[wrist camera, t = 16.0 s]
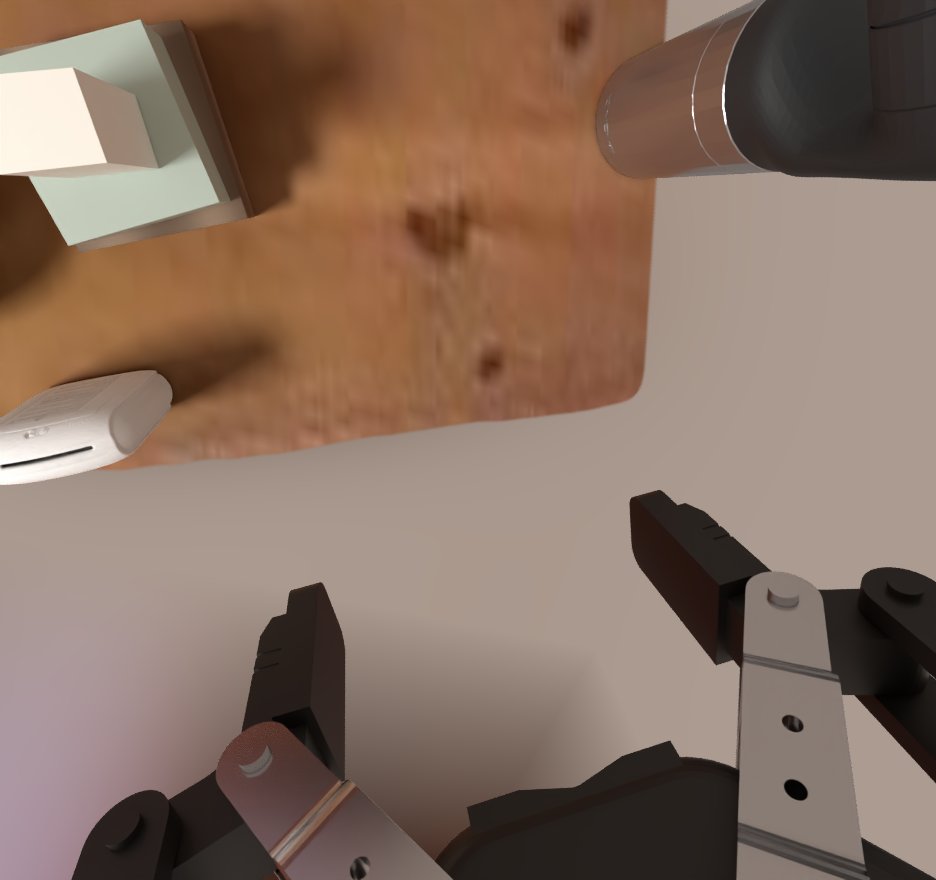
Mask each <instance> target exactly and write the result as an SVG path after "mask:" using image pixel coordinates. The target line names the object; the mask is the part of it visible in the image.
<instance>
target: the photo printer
mask: <svg viewBox="0 0 936 880" xmlns="http://www.w3.org/2000/svg"><path fill="white" fill-rule="evenodd" d="M172 395H173V394H172V389H171V386H170V384H169V383H168V381H167V380H166V379H165V378H164V377H163V376H162V375H160V374H157V371H155V370H143V371H134V372H128V373H122V374H116V375H110V376H104V377H99V378H94V379H88V380H83V381H78V382H73V383H68V384H64V385H60V386H56V387H53V388H50V389H47V390H44V391H42V392H40V393H38V394H36V395H35V396H33V397H32V398H30V399H29V400H27V401H26V402H24V403H23V404H21V405H20V406H18V407H17V408H15V409H14V410H12V411H10V412H9V413H7V414H6V415H4V416H3V417H1V418H0V484H1V485H8V484H21V483H29V482H36V481H43V480H48V479H53V478H58V477H63V476H68V475H72V474H77V473H81V472H85V471H88V470H92V469H96V468H99V467H103V466H106V465H109V464H112V463H115V462H117V461H120V460H122V459H124V458H126V457H128V456H130V455H132V454H133V453H134V452H135V451H136V450H137V449H138V448H139V446H140V445H141V444H142V443H143V442H144V441H145V439H146V438H147V437H148V436H149V435H150V433H151V432H152V431H153V430H154V429H155V428H156V426H157V425H158V424H159V423H160V422H161V420H162V419H163V418H164V417H165V415H166V414H167V413H168V412H169V411H170V409H171V405H170V402H171V400H172Z"/></svg>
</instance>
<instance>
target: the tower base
mask: <svg viewBox="0 0 936 880" xmlns="http://www.w3.org/2000/svg"><path fill="white" fill-rule="evenodd" d="M147 26H148V27H150V28H151V29H152V30H153V31H154V32H156V33H157V34H158V35H159V36H160V37H161V38H162V40H163V43H164V45H165V47H166V50H167V52H168V54H169V57H170V59H171V61H172V64H173V66H174V69H175V71H176V73H177V76H178V78H179V80H180V83H181V85H182V87H183V90H184V92H185V94H186V97H187V99H188V101H189V104H190V106H191V109H192V111H193V113H194V116H195V118H196V120H197V123H198V125H199V127H200V130H201V132H202V134H203V137H204V139H205V141H206V144H207V146H208V149H209V151H210V153H211V156H212V158H213V160H214V163H215V165H216V167H217V170H218V172H219V174H220V177H221V179H222V182H223V184H224V186H225V189H226V191H227V193H228V196H229V198H230V200H231V202H227V203H224V204H220V205H217V206H213V207H210V208H206V209H203V210H199V211H196V212H193V213H189V214H186V215H182V216H179V217H175V218H172V219H168V220H165V221H161V222H158V223H155V224H151V225H148V226H144V227H141V228H137V229H134V230H130V231H127V232H123V233H120V234H116V235H113V236H110V237H106V238H103V239H99V240H96V241H91V242H86V243H81V244H75V245H76V247H77V249H78V251H79V253H80V252H85V251H90V250H95V249H100V248H105V247H110V246H115V245H120V244H125V243H130V242H134V241H139V240H144V239H149V238H154V237H159V236H164V235H169V234H174V233H179V232H183V231H188V230H193V229H198V228H203V227H208V226H213V225H218V224H223V223H228V222H233V221H237V220H242V219H247V218H251V217H255V216H254V213H253V210H252V207H251V204H250V201H249V198H248V195H247V192H246V188H245V185H244V182H243V179H242V176H241V173H240V170H239V167H238V164H237V161H236V158H235V155H234V152H233V149H232V146H231V143H230V140H229V137H228V134H227V131H226V128H225V125H224V122H223V119H222V116H221V113H220V110H219V107H218V104H217V101H216V98H215V95H214V92H213V89H212V86H211V83H210V80H209V77H208V74H207V71H206V68H205V65H204V62H203V59H202V56H201V53H200V50H199V47H198V44H197V41H196V38H195V35H194V34H193V32H192V31H191V30H190V29H189V28H188V27H187V26H186V25H185V24H184V23H183V22H182V21H181V20H176V21H170V22H164V23H158V24H152V25H147ZM66 39H67V38H66ZM60 40H63V39H60ZM56 41H59V40H54V41H47V42H41V43H35V44H29V45H23V46H17V47H11V48H5V49H0V56H2V55H6V54H10V53H14V52H17V51H21V50H25V49H29V48H33V47H36V46H40V45H44V44H48V43H52V42H56Z"/></svg>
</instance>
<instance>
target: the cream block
mask: <svg viewBox="0 0 936 880" xmlns="http://www.w3.org/2000/svg"><path fill="white" fill-rule="evenodd" d="M153 169H159V167H158V164H157V161H156V158H155V155H154V152H153V149H152V146H151V143H150V140H149V136H148V133H147V130H146V127H145V124H144V121H143V118H142V115H141V112H140V109H139V106H138V102H137V99H136V96H135V95H134V94H132V93H130V92H127V91H125V90H123V89H121V88H118V87H116V86H114V85H112V84H109V83H107V82H105V81H102V80H100V79H98V78H96V77H93V76H91V75H89V74H87V73H84V72H82V71H80V70H77V69H75V68H73V67H72V68H61V69H49V70H38V71H27V72H16V73H5V74H0V175H16V176H37V177H57V178H83V177H92V176H100V175H109V174H118V173H127V172H136V171H145V170H153Z"/></svg>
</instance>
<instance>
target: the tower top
mask: <svg viewBox="0 0 936 880" xmlns="http://www.w3.org/2000/svg"><path fill="white" fill-rule="evenodd" d="M72 67H73V68H75V69H77V70H80V71H82V72H84V73H87V74H89V75H91V76H93V77H96V78H98V79H100V80H102V81H105V82H107V83H109V84H112V85H114V86H116V87H118V88H121V89H123V90H125V91H127V92H130V93H132V94H134V95H135V96H136V99H137V102H138V106H139V109H140V112H141V115H142V118H143V121H144V124H145V127H146V130H147V133H148V136H149V140H150V143H151V146H152V149H153V152H154V155H155V158H156V161H157V164H158V167H159V169H153V170H145V171H136V172H127V173H118V174H109V175H100V176H92V177H83V178H57V177H37V176H29V178H30V180H31V182H32V183H33V185H34V187H35V189H36V190H37V192H38V194H39V196H40V197H41V199H42V201H43V202H44V204H45V206H46V208H47V209H48V211H49V213H50V215H51V216H52V218H53V220H54V222H55V223H56V225H57V227H58V229H59V230H60V232H61V234H62V236H63V237H64V239H65V241H66V243H67V244H68V246H70V245H75V244H81V243H86V242H91V241H96V240H99V239H103V238H106V237H110V236H113V235H116V234H120V233H123V232H127V231H130V230H134V229H137V228H141V227H144V226H148V225H151V224H155V223H158V222H161V221H165V220H168V219H172V218H175V217H179V216H182V215H186V214H189V213H193V212H196V211H199V210H203V209H206V208H210V207H213V206H217V205H220V204H224V203H227V202H231V200H230V198H229V196H228V193H227V191H226V189H225V186H224V184H223V182H222V179H221V177H220V174H219V172H218V170H217V167H216V165H215V163H214V160H213V158H212V156H211V153H210V151H209V149H208V146H207V144H206V141H205V139H204V137H203V134H202V132H201V130H200V127H199V125H198V123H197V120H196V118H195V116H194V113H193V111H192V109H191V106H190V104H189V101H188V99H187V97H186V94H185V92H184V90H183V87H182V85H181V83H180V80H179V78H178V76H177V73H176V71H175V69H174V66H173V64H172V61H171V59H170V57H169V54H168V52H167V50H166V47H165V45H164V43H163V40H162V38H161V37H160V36H159V35H158V34H157V33H156V32H154V31H153V30H152V29H151V28H150V27H148V26H147V25H146V24H145V23H144V22H143V21H141V20H136V21H132V22H128V23H125V24H121V25H117V26H113V27H109V28H105V29H102V30H98V31H94V32H90V33H86V34H82V35H79V36H75V37H71V38H67V39H63V40H59V41H56V42H52V43H48V44H44V45H40V46H36V47H33V48H29V49H25V50H21V51H17V52H14V53H10V54H6V55H2V56H0V74H5V73H16V72H27V71H38V70H49V69H61V68H72Z"/></svg>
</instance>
